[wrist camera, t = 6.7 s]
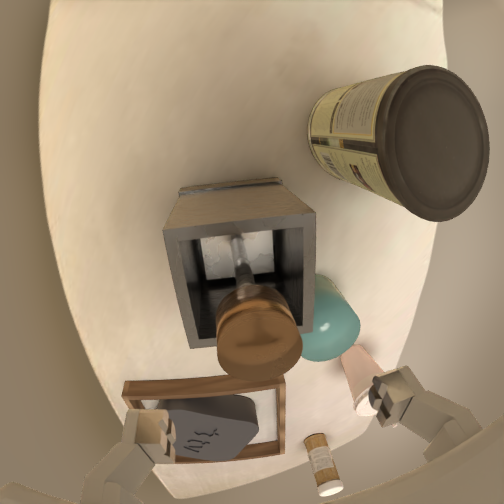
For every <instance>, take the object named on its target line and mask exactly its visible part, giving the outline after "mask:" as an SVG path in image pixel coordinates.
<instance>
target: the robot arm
mask: <svg viewBox="0 0 504 504" xmlns="http://www.w3.org/2000/svg"><path fill="white" fill-rule="evenodd" d="M372 383H373V385H372V386H371V387H370V389H369V392H368V397H369V402H370V405H371V407H372V408H373V409H375V410H376V411H377V415H376V417H377V419H378V421H379V422H380V425H381V427H382V428H383V427H386V426H389V425H392V424H394V423H397V422H400V423H401V424H402V425H404V426H405V427H407V428H408V429H410V430H411V431H413V432H414V433H416V434H417V435H419V436H420V437H422V438H423V439H425V440H426V441H428V442H429V443H430V444H429V445H428V446H427V447H426V449H425V450H424V452H423V455H424V457H425V459H426V461H427V463H426V464H424V465H422V466H420V467H418V468H416V469H414V470H412V471H410V472H407V473H405V474H403V475H401V476H399V477H396V478H394V479H391V480H389V481H386V482H384V483H382V484H379V485H377V486H374V487H371V488H368V489H366V490H363V491H360V492H357V493H353V494H350V495H347V496H344V497H341V498H337V499H334V500H330V501H327V502H323V503H319V504H504V414H503V415H502V416H500V417H499V418H498V419H497V420H495V421H494V422H492V423H491V424H490V425H488V426H487V427H486V428H484V429H482V427H481V425H480V424H479V423H478V421H477V420H476V418H475V417H474V415H473V414H472V412H471V411H470V409H468V408H466V407H463V406H461V405H459V404H457V403H454V402H452V401H450V400H448V399H446V398H443V397H441V396H439V395H437V394H435V393H433V392H430V391H425V390H424V388H423V387H422V385H421V384H420V382H419V381H418V379H417V378H416V377H415V375H414V374H413V372H412V371H411V369H410V368H409V367H408V366H403V367H400V368H397V369H393V370H390V371H387V372H384V373H381V374H378V375H375V376H374V377H373V380H372ZM175 441H176V432H175V426H174V423H173V421H172V420H171V419H169V414H168V412H167V410H166V409H157V410H156V409H129V410H128V411H127V414H126V419H125V424H124V430H123V435H122V441H121V443H117V444H116V445H115V446H114V447H113V448H112V449H111V450H110V451H109V452H108V453H107V454H106V455H105V457H104V458H103V459H102V460H101V461H100V462H99V463H98V464H97V465H96V466H95V467H94V468H93V469H92V470H91V471H90V472H89V473H88V474H87V475H86V476H85V477H84V482H83V488H82V494H81V500H80V504H144V503H143V502H142V501H141V500H139V499H138V498H136V497H135V496H134V494H135V492H136V491H137V490H138V488H139V487H140V485H141V484H142V483H143V481H144V480H145V478H146V477H147V475H148V474H149V473H150V471H151V470H152V469H153V467H154V466H155V464H175V449H174V447H173V446H172V445H173V443H174V442H175ZM0 504H78V503H75V502H71V501H67V500H64V499H61V498H57V497H54V496H51V495H48V494H45V493H42V492H39V491H37V490H34V489H31V488H29V487H26V486H24V485H21V484H19V483H16V482H9V483H8V484H6V485H4V486H3V487H1V488H0Z"/></svg>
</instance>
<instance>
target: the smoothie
mask: <svg viewBox="0 0 504 504" xmlns="http://www.w3.org/2000/svg"><path fill="white" fill-rule="evenodd" d="M341 362H342V365H343V368H344V371H345V374H346V377H347V381H348V384H349V387H350V390H351V393H352V397H353V400H354V404H353V408H354V410H355V411H356V413H357V415H359V416H371V415H374V414H377V411H376V410H375V409H373V408H372V407H371V405H370V402H369V397H368V392H369V389H370V387H371V386H372V385H373V383H372V380H373V377H374V376H375V375H378V374H381V373H384V371H383V370H382V369H381V368H380V367H379V365H378V364H377V363H376V362H375V361H374V360H373V359H372V357H371V356H370V355H369V354H368V353H367V352H366V351H365V349H364V348H363V347H362V346H361V345H352V346H351V347H350V348H349V349H348V350H347V351H346V352H344V353H343V354H341ZM392 426H393V428H395V427H396V426H397V424H396V423H394V424H392Z"/></svg>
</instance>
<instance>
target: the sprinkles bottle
mask: <svg viewBox="0 0 504 504" xmlns="http://www.w3.org/2000/svg"><path fill="white" fill-rule="evenodd" d="M304 444H305V445H306V448H307V452H308V457H309V460H310V464H311V467H312V470H313V474H314V476H315V479H316V482H317V487H318V493H319V495H320V496H329V495H332V494H335V493H337V492H339V491H341V490H342V489H343V484H342V481H341V480H340V478H339V476H338V472H337V470H336V466H335V464H334V461H333V457H332V454H331V451H330V448H329V447H328V444H327V441H326V436H325V435H324V434H315V435H312V436H310V437H308V438H307V439H305V441H304Z"/></svg>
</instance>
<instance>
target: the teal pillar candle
mask: <svg viewBox="0 0 504 504" xmlns="http://www.w3.org/2000/svg"><path fill="white" fill-rule="evenodd" d="M359 332H360V320H359V318H358V316H357V315H356V314H355V312H354V311H353V309H352V308H351V307H350V305H349V304H348V302H347V301H346V300H345V298H344V297H343V295H342V294H341V293H340V291H339V290H338V289H337V287H336V286H335V285H334V283H333V282H332V281H331V280H330V279H329V278H328V277H326V276H323V275H319V274H315V298H314V320H313V332H311V333H305V334H300V335H301V338H302V341H303V350H302V354H301V356H302V357H303V358H305V359H307V360H310V361H317V362H319V361H327V360H331V359H333V358H336V357H338V356H340V355H341V354H343V353H344V352H346V351H347V350H348V349H349V348H350V347H351V346H352V345H353V344H354V342H355V341H356V339H357V337H358V335H359Z"/></svg>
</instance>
